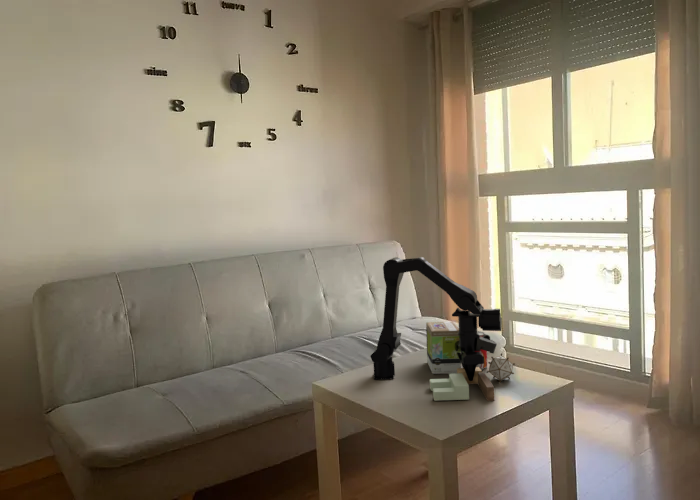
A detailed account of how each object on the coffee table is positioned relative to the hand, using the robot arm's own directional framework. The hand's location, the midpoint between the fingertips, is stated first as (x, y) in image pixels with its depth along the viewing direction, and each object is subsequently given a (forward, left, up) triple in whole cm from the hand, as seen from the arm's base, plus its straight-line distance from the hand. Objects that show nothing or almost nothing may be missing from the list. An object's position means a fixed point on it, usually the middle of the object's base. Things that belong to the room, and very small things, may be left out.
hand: (469, 378), depth 183 cm
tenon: (0, 0, -1) cm, 1 cm away
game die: (+10, +1, -1) cm, 10 cm away
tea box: (-6, +17, -1) cm, 18 cm away
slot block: (-8, -11, -1) cm, 13 cm away
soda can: (+5, +15, -1) cm, 15 cm away
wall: (+3, -10, -1) cm, 11 cm away
